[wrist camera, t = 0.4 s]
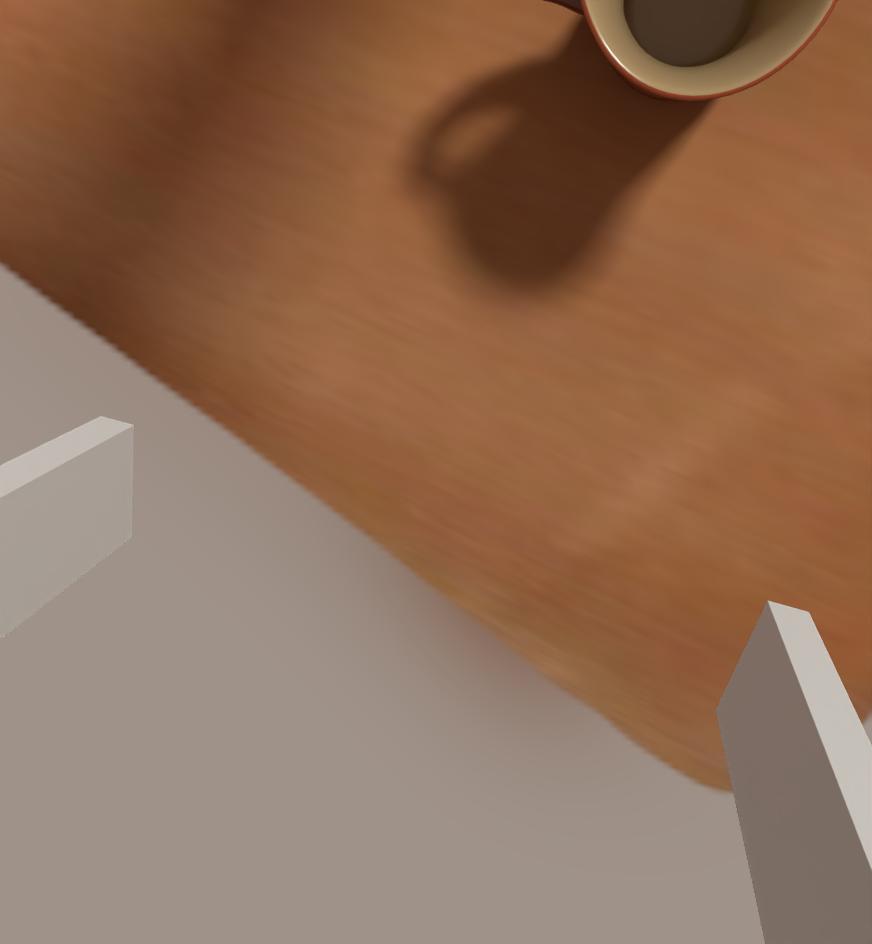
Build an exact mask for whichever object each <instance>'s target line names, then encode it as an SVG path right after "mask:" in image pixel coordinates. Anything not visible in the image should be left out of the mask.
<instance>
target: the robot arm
mask: <svg viewBox="0 0 872 944" xmlns="http://www.w3.org/2000/svg"><path fill="white" fill-rule="evenodd" d="M133 460H134V425H132V424H128V423H125V422H121V421H118V420H114V419H110V418H107V417H103V416H100V417H98V418H96V419H94V420H92V421H90V422H87V423H85V424H83V425H81V426H79V427H77V428H75V429H73V430H71V431H69V432H67V433H65V434H63V435H61V436H59V437H57V438H55V439H53V440H51V441H49V442H47V443H45V444H42V445H40V446H38V447H36V448H34V449H33V450H30V451H28V452H26V453H24V454H22V455H20V456H18V457H16V458H14V459H12V460H10V461H8V462H6V463H4V464H2V465H0V640H1V639H2V638H3V637H4V636H6V635H7V634H8V633H10V632H11V631H12V630H13V629H15V628H16V627H17V626H19V625H20V624H21V623H22V622H24V621H25V620H26V619H27V618H29V617H30V616H31V615H33V614H34V613H35V612H37V611H38V610H39V609H40V608H42V607H43V606H44V605H45V604H47V603H48V602H49V601H50V600H52V599H53V598H54V597H56V596H57V595H58V594H60V593H61V592H62V591H63V590H65V589H66V588H67V587H68V586H70V585H71V584H72V583H74V582H75V581H76V580H78V579H79V578H80V577H81V576H83V575H84V574H85V573H86V572H88V571H89V570H90V569H92V568H93V567H94V566H95V565H97V564H98V563H99V562H100V561H102V560H103V559H104V558H106V557H107V556H108V555H110V554H111V553H112V552H113V551H115V550H116V549H117V548H119V547H120V546H121V545H122V544H124V543H125V542H126V541H128V540H129V539H130V538H131V537H132V516H133V515H132V514H133V510H132V509H133ZM716 714H717V718H718V723H719V728H720V732H721V737H722V742H723V747H724V751H725V756H726V761H727V765H728V770H729V775H730V780H731V784H732V789H733V794H734V798H735V803H736V808H737V813H738V817H739V822H740V826H741V831H742V836H743V841H744V845H745V850H746V855H747V860H748V864H749V869H750V874H751V878H752V883H753V888H754V893H755V897H756V902H757V907H758V911H759V916H760V921H761V926H762V930H763V935H764V940H765V944H872V745H871V743H870V741H869V739H868V737H867V735H866V733H865V731H864V728H863V726H862V724H861V722H860V720H859V718H858V716H857V714H856V711H855V709H854V707H853V705H852V703H851V701H850V699H849V697H848V694H847V692H846V690H845V688H844V686H843V684H842V682H841V680H840V677H839V675H838V673H837V671H836V669H835V667H834V665H833V662H832V660H831V658H830V656H829V654H828V652H827V650H826V648H825V645H824V643H823V641H822V639H821V637H820V635H819V633H818V631H817V628H816V626H815V624H814V622H813V620H812V618H811V616H810V614H809V612H807V611H803V610H799V609H796V608H792V607H789V606H785V605H781V604H778V603H774V602H771V601H767V603H766V605H765V607H764V609H763V611H762V613H761V616H760V618H759V620H758V622H757V624H756V626H755V628H754V630H753V632H752V635H751V637H750V639H749V641H748V643H747V645H746V647H745V649H744V651H743V654H742V656H741V658H740V660H739V662H738V664H737V666H736V668H735V670H734V673H733V675H732V677H731V679H730V681H729V683H728V685H727V687H726V689H725V692H724V694H723V696H722V698H721V700H720V702H719V704H718V706H717V708H716Z"/></svg>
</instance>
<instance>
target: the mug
mask: <svg viewBox="0 0 872 944" xmlns="http://www.w3.org/2000/svg"><path fill="white" fill-rule="evenodd" d="M543 1H547V2H551V3H555V4H558V5H561V6H563V7H565V8H567V9H569V10H571V11H573V12H576V13H578V14H581V15H584V16H585V17H586V20H587V22H588V25H589V27H590V30H591V32H592V34H593V36H594V38H595V40H596V42H597V44H598V45H599V47H600V49H601V50H602V52H603V53H604V55H605V56H606V57H607V59H608V60H609V62H610V63H611V65H612V67H613V68H614V70H615V71H616V73H617V74H618V75H619V76H620V77H621V79H622V80H623V81H624V82H626V83H627V84H628V85H629V86H630V87H632V88H633V89H634V90H636V91H638V92H639V93H641V94H643V95H646V96H648V97H651V98H654V99H657V100H663V101H673V102H677V101H688V100H691V101H694V100H709V99H715V98H720V97H724V96H728V95H732V94H735V93H738V92H740V91H743V90H745V89H748V88H750V87H752V86H754V85H756V84H758V83H760V82H762V81H763V80H765V79H767V78H769V77H770V76H772V75H773V74H774V73H776V72H777V71H779V70H780V69H782V68H783V67H784V66H785V65H786V64H788V63H789V62H790V61H791V60H793V59H794V58H795V57H796V56H797V55H798V54H799V53H800V52H801V51H802V50H803V49H804V48H805V47H806V46H807V44H808V43H809V42H810V41H811V40H812V39H813V38H814V36H815V35H816V34H817V32H818V31H819V30H820V28H821V27H822V26H823V24H824V23H825V21H826V20H827V18H828V17H829V15H830V13H831V12H832V10H833V8H834V6H835V5H836V3H837V1H838V0H543Z"/></svg>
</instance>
